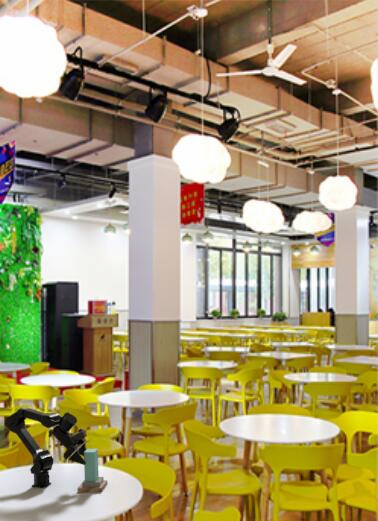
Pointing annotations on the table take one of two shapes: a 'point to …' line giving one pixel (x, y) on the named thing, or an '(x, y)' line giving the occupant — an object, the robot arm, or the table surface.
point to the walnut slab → (93, 488)
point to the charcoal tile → (93, 483)
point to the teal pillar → (91, 464)
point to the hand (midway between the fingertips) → (87, 461)
